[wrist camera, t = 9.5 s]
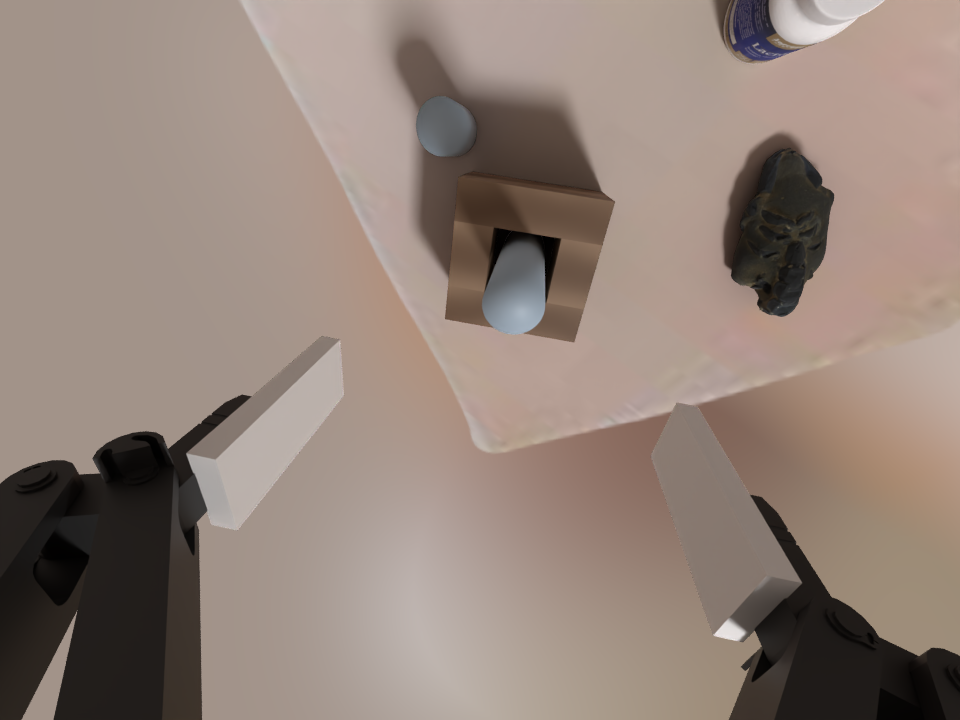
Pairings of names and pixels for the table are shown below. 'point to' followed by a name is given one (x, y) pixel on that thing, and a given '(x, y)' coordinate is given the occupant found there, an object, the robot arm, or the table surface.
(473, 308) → the sleeve block
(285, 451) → the robot arm
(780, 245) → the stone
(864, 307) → the table surface
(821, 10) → the pill bottle
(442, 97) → the grey rounded cylinder
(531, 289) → the long dowel
